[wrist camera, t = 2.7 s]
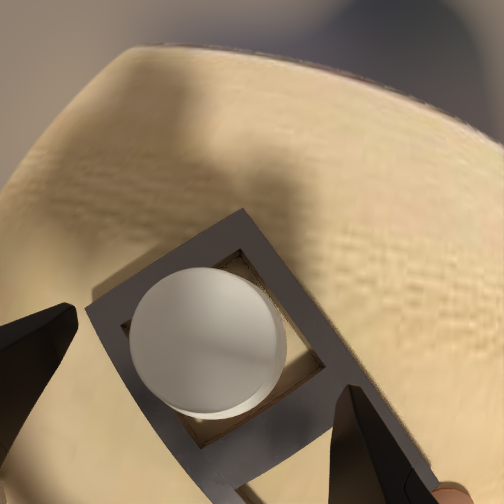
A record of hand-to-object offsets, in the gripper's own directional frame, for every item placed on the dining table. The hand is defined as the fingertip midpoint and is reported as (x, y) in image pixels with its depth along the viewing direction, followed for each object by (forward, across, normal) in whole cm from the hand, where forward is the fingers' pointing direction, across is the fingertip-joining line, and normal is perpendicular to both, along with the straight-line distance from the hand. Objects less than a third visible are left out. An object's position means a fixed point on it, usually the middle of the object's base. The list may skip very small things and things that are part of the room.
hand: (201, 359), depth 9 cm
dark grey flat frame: (+4, -4, +8) cm, 9 cm away
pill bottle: (+6, 0, +6) cm, 8 cm away
